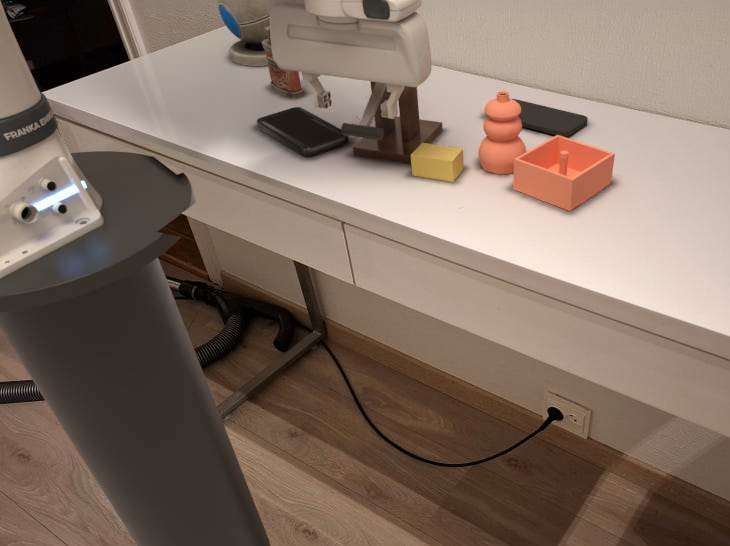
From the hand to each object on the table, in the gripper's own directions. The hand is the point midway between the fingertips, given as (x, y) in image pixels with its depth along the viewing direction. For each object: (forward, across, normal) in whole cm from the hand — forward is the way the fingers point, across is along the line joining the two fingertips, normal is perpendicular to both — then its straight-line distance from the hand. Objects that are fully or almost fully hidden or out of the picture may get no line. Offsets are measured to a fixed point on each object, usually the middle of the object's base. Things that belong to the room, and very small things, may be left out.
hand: (356, 111), depth 86 cm
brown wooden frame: (+9, 0, +11) cm, 14 cm away
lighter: (+9, -27, +24) cm, 37 cm away
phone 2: (+8, +17, +25) cm, 32 cm away
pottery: (+9, +22, +7) cm, 25 cm away
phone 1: (+9, -15, +9) cm, 20 cm away
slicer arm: (+1, 0, +7) cm, 7 cm away
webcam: (+9, -41, +39) cm, 57 cm away
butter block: (+9, +9, +4) cm, 13 cm away
